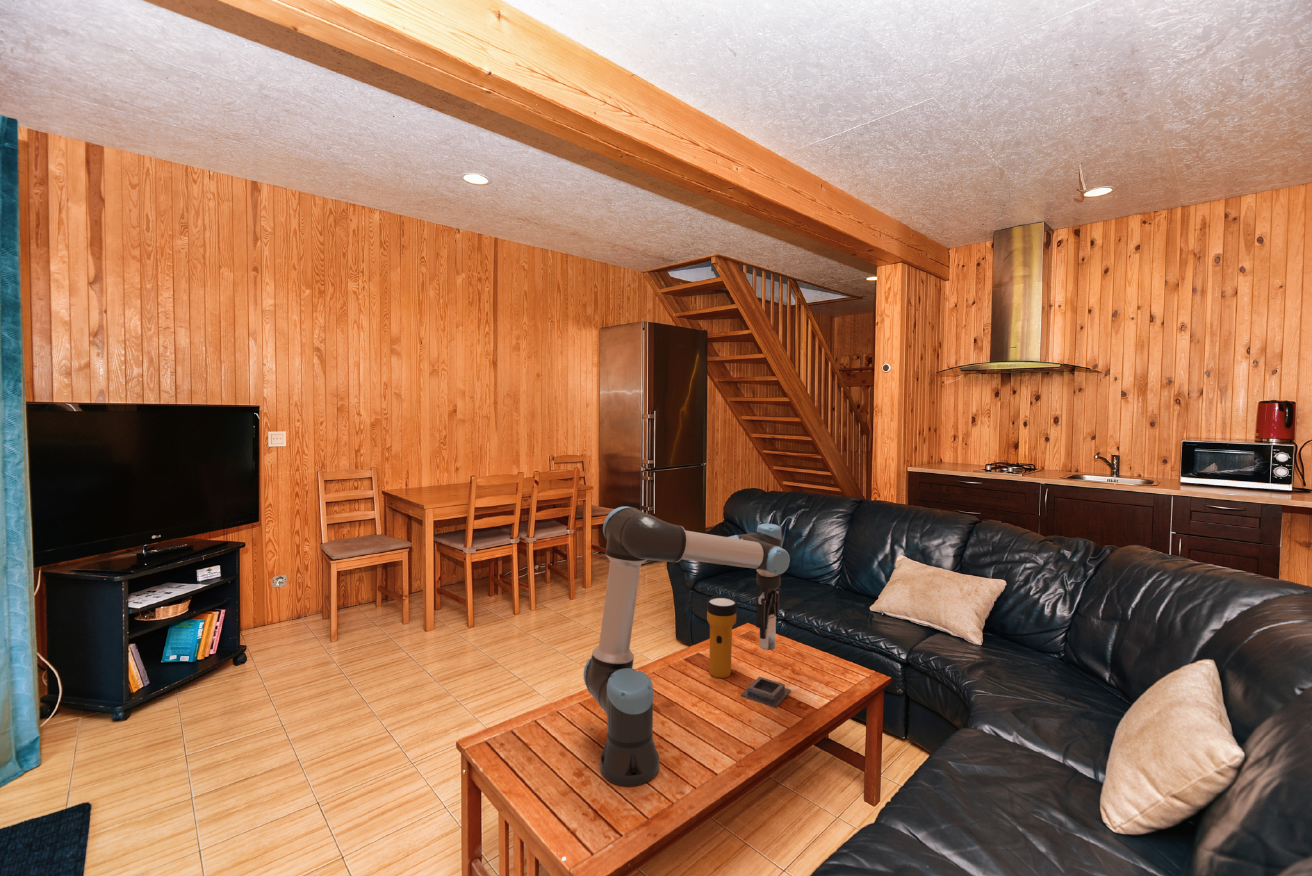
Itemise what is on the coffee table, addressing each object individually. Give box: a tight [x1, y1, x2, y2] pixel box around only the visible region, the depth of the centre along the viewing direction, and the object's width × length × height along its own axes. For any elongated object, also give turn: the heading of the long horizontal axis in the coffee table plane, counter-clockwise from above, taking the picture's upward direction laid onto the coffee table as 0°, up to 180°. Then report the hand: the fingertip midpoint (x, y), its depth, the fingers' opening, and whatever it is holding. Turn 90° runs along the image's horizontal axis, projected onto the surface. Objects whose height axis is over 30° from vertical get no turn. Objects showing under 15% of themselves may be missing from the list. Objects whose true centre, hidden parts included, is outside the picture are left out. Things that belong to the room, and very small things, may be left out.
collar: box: [740, 676, 792, 709], centre depth 181 cm, size 12×12×3 cm
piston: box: [759, 612, 777, 651], centre depth 180 cm, size 5×5×11 cm
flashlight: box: [706, 595, 738, 679], centre depth 194 cm, size 10×26×10 cm
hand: (767, 644), depth 180 cm, fingers closed on piston, 5 cm apart
